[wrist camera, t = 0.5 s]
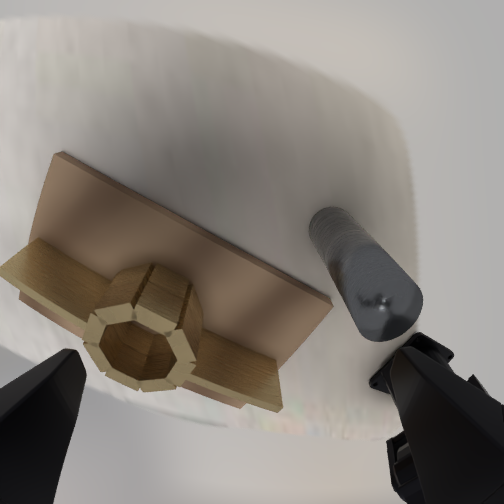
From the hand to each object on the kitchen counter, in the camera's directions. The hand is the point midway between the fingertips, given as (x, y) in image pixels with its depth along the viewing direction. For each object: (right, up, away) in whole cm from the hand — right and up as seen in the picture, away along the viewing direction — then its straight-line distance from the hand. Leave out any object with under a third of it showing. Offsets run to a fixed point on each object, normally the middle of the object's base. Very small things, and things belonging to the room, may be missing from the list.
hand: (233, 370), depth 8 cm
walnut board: (-6, 0, +13) cm, 14 cm away
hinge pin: (+5, +4, +11) cm, 13 cm away
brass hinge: (-6, -1, +12) cm, 13 cm away
